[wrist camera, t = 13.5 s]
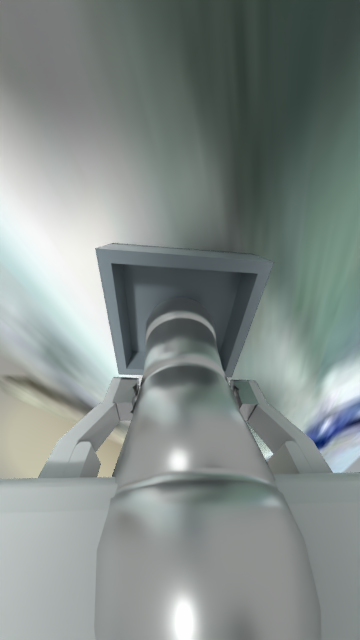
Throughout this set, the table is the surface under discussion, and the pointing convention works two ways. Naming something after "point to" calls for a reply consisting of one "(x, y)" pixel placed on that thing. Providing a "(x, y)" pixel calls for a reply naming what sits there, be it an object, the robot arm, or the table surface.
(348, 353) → the table surface
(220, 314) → the box
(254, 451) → the plastic bottle
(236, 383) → the robot arm
